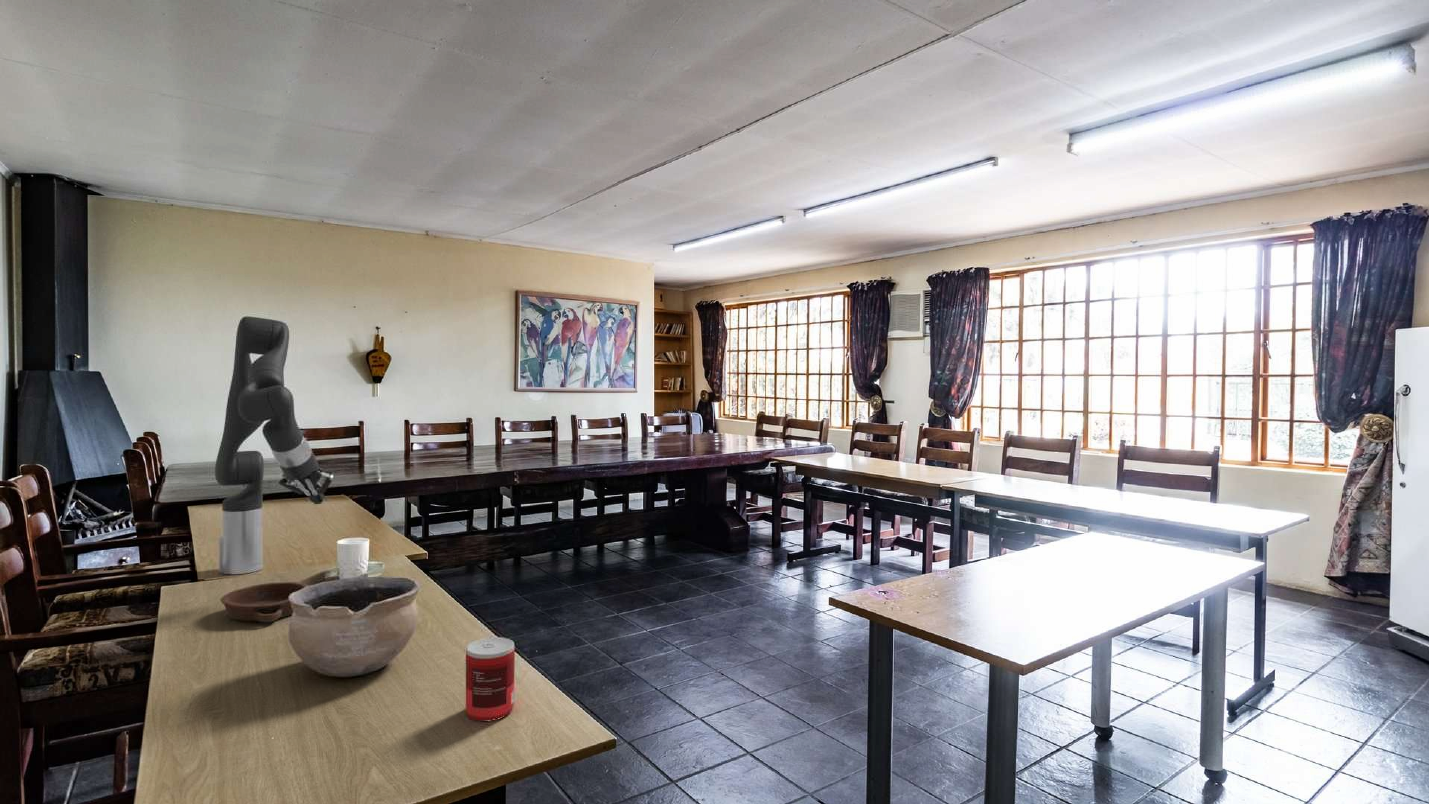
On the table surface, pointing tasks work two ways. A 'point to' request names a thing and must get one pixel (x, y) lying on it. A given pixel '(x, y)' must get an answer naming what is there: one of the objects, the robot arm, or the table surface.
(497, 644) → the canned food
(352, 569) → the white cup
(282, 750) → the table surface
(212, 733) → the table surface
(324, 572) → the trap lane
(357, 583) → the ceramic bowl
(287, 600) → the dish
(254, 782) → the table surface
